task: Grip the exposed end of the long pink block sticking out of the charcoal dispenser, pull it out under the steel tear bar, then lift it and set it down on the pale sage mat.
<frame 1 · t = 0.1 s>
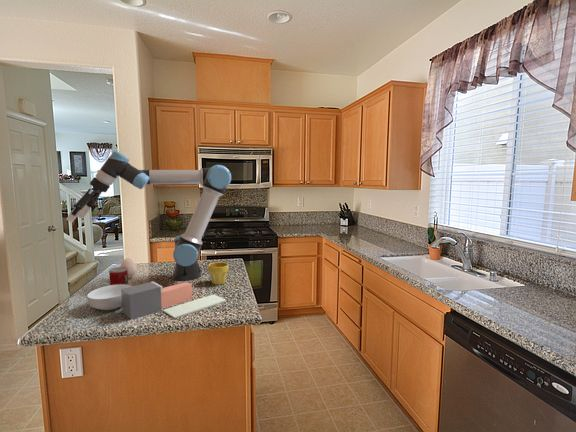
hand: (74, 219, 142), 36 cm above the countertop, tool tilted 35°, fingers open, 13 cm apart
egg: (128, 278, 170), on the countertop
plant pot: (218, 283, 162), on the countertop
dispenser: (142, 311, 127), on the countertop
cereal bowl: (111, 307, 132), on the countertop
long pink block: (168, 304, 135), on the countertop
canned food: (119, 291, 151), on the countertop
mat: (196, 306, 132), on the countertop
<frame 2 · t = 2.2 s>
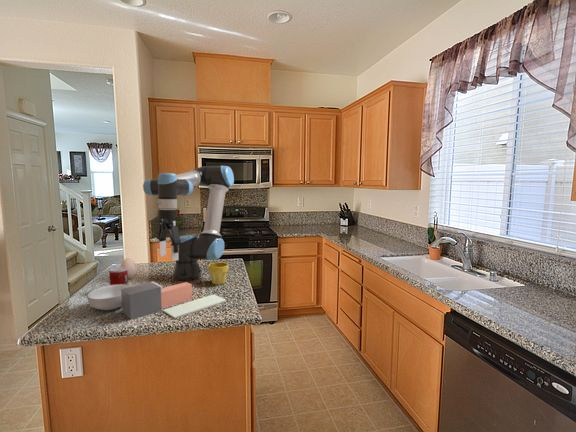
hand: (168, 258, 135), 20 cm above the countertop, tool pointing down, fingers open, 13 cm apart
nothing on the countertop moved.
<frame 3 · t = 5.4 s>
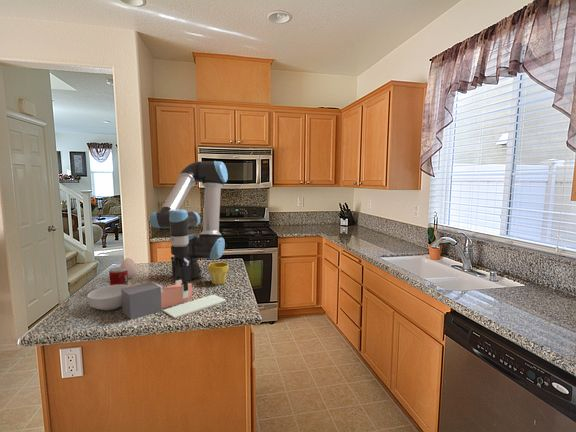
hand: (182, 295, 139), 2 cm above the countertop, tool pointing down, fingers closed on long pink block, 5 cm apart
long pink block: (168, 304, 135), on the countertop, touching gripper
everything else where it was.
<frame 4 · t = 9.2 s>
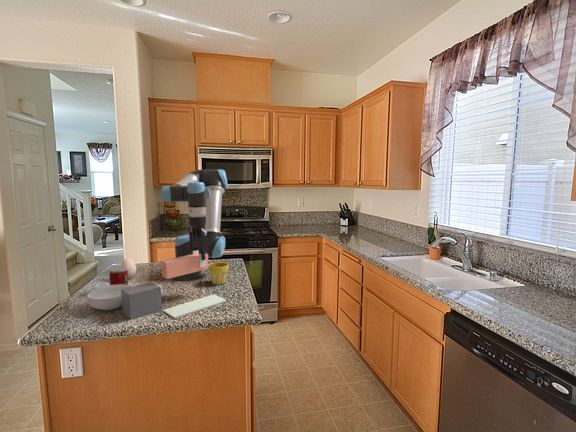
hand: (199, 265, 145), 14 cm above the countertop, tool pointing down, fingers closed on long pink block, 5 cm apart
long pink block: (186, 272, 140), point 12 cm above the countertop, touching gripper
everything else where it was.
when the fingers open (4 cm above the countertop, at t = 13.5 s): long pink block drops 2 cm, resting on mat.
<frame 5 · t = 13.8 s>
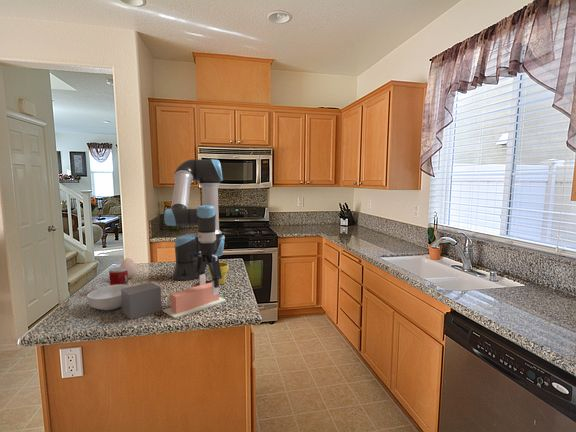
hand: (209, 291, 136), 5 cm above the countertop, tool pointing down, fingers open, 9 cm apart
long pink block: (195, 304, 132), point 1 cm above the countertop, touching mat
everything else where it was.
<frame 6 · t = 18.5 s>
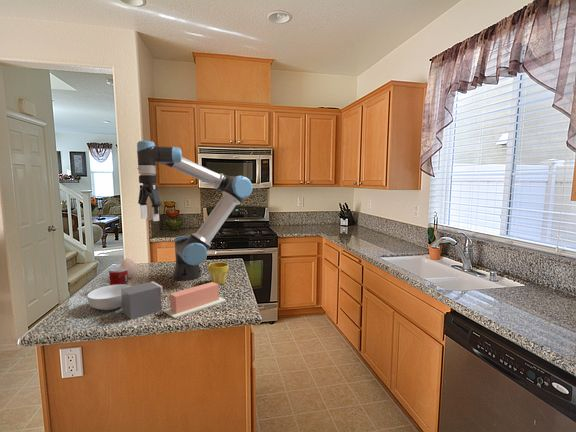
hand: (150, 219, 148), 35 cm above the countertop, tool pointing down, fingers open, 13 cm apart
nothing on the countertop moved.
at the end: long pink block inside the target area on the mat (0.0 cm from its centre), point 0.6 cm above the mat's base; long pink block touching mat; the gripper is holding nothing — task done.
